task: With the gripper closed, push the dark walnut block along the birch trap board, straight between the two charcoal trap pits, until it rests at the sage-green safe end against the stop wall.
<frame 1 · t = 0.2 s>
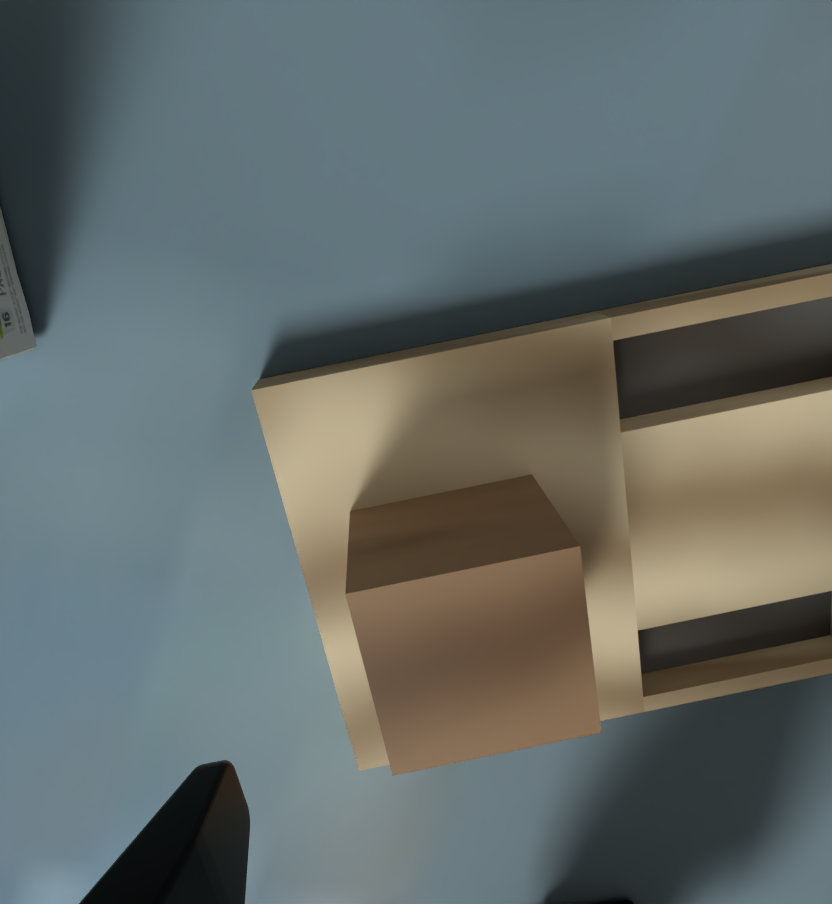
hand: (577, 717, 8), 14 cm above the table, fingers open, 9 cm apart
walnut block: (456, 572, 22), point 1 cm above the table, touching trap board
trap board: (694, 502, 23), on the table
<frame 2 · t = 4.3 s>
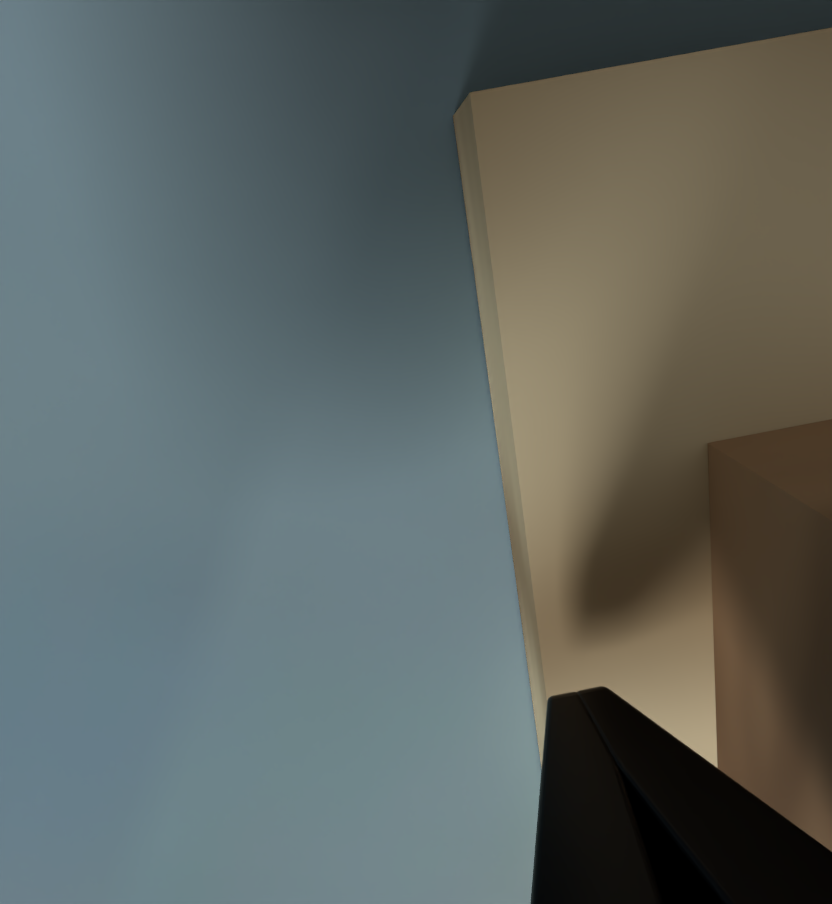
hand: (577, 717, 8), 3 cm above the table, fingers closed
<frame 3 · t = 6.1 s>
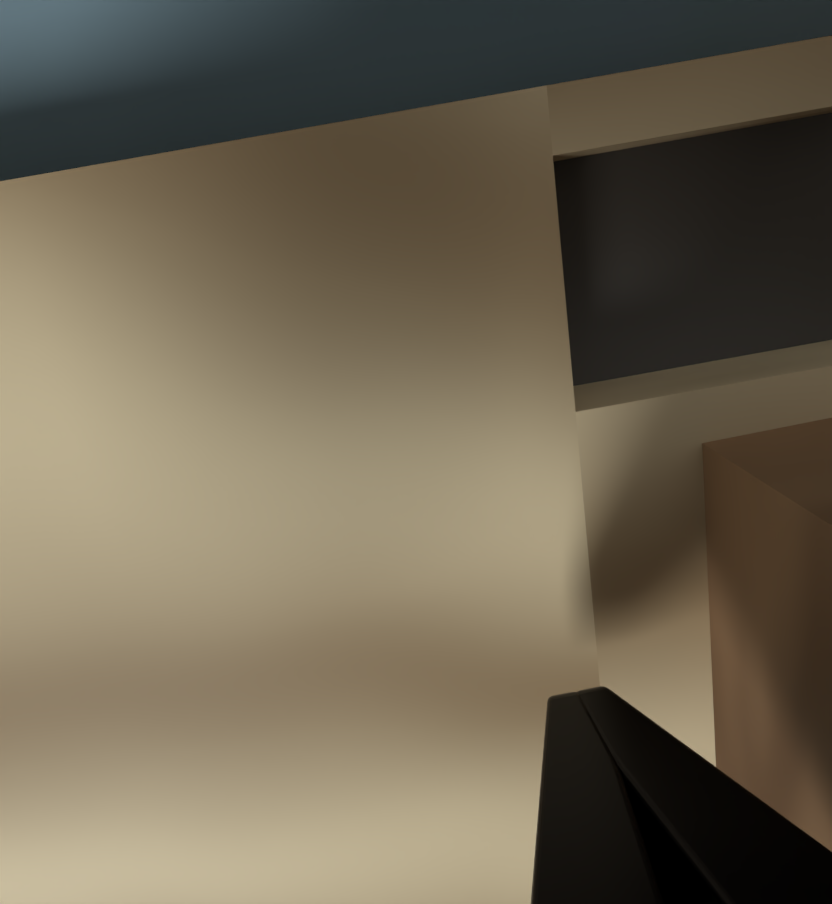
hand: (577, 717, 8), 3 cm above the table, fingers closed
trap board: (743, 572, 11), on the table
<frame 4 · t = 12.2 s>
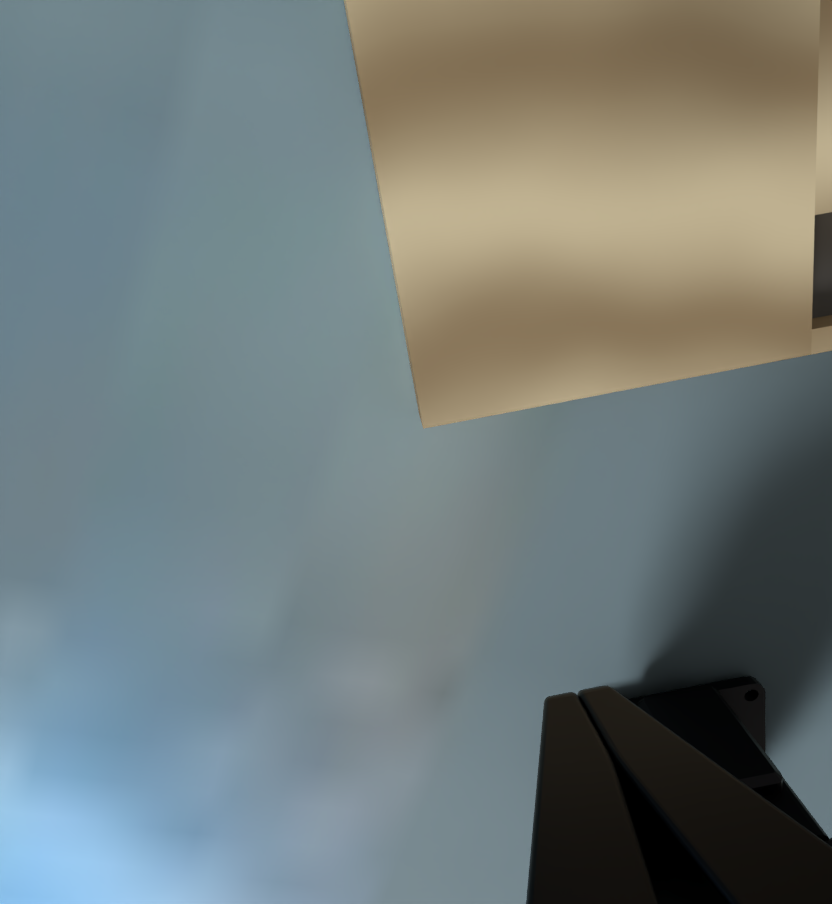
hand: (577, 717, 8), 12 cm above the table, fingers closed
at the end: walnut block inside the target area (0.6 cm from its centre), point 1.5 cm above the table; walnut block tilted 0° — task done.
